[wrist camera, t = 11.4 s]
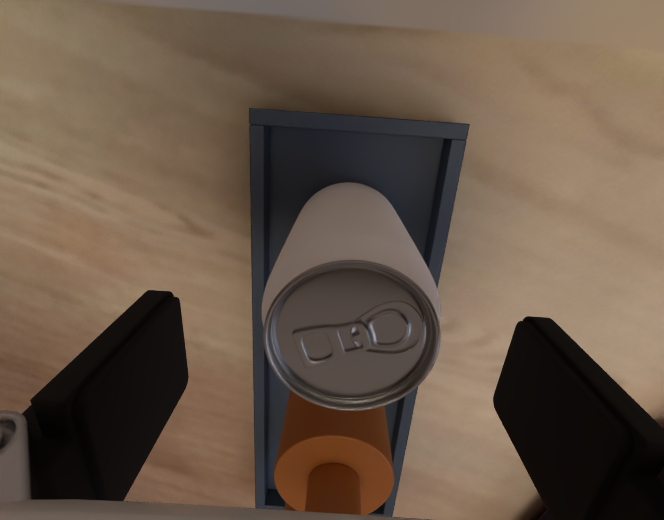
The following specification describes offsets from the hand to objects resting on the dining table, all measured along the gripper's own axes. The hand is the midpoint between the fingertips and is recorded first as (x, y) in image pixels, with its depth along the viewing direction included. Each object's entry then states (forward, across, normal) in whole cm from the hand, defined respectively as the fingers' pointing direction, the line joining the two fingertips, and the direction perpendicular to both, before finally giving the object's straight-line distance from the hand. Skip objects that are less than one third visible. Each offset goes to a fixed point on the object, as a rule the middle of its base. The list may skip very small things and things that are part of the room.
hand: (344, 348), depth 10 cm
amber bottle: (+13, 0, +10) cm, 16 cm away
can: (+13, 0, +1) cm, 13 cm away
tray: (+14, 0, +10) cm, 17 cm away
